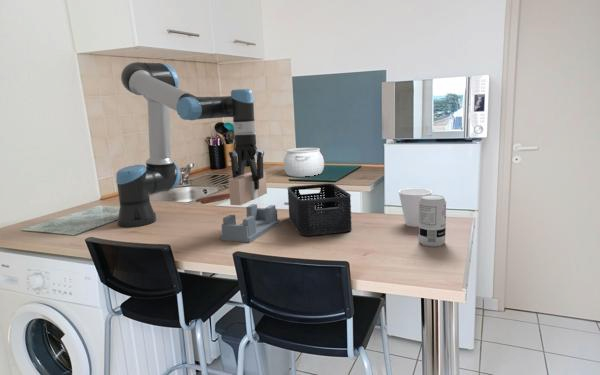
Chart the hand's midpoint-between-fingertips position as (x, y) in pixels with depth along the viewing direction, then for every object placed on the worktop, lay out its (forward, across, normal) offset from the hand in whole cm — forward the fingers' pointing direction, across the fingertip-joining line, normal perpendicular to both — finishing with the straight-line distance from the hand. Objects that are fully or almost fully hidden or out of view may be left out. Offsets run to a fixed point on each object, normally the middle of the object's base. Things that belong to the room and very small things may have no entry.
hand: (249, 197), depth 156 cm
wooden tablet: (+13, -44, +48) cm, 67 cm away
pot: (+13, -28, +121) cm, 125 cm away
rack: (+13, 0, 0) cm, 13 cm away
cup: (+13, +56, +23) cm, 62 cm away
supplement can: (+13, +64, +3) cm, 65 cm away
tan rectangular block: (0, 0, 0) cm, 0 cm away
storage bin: (+13, +21, +15) cm, 29 cm away
